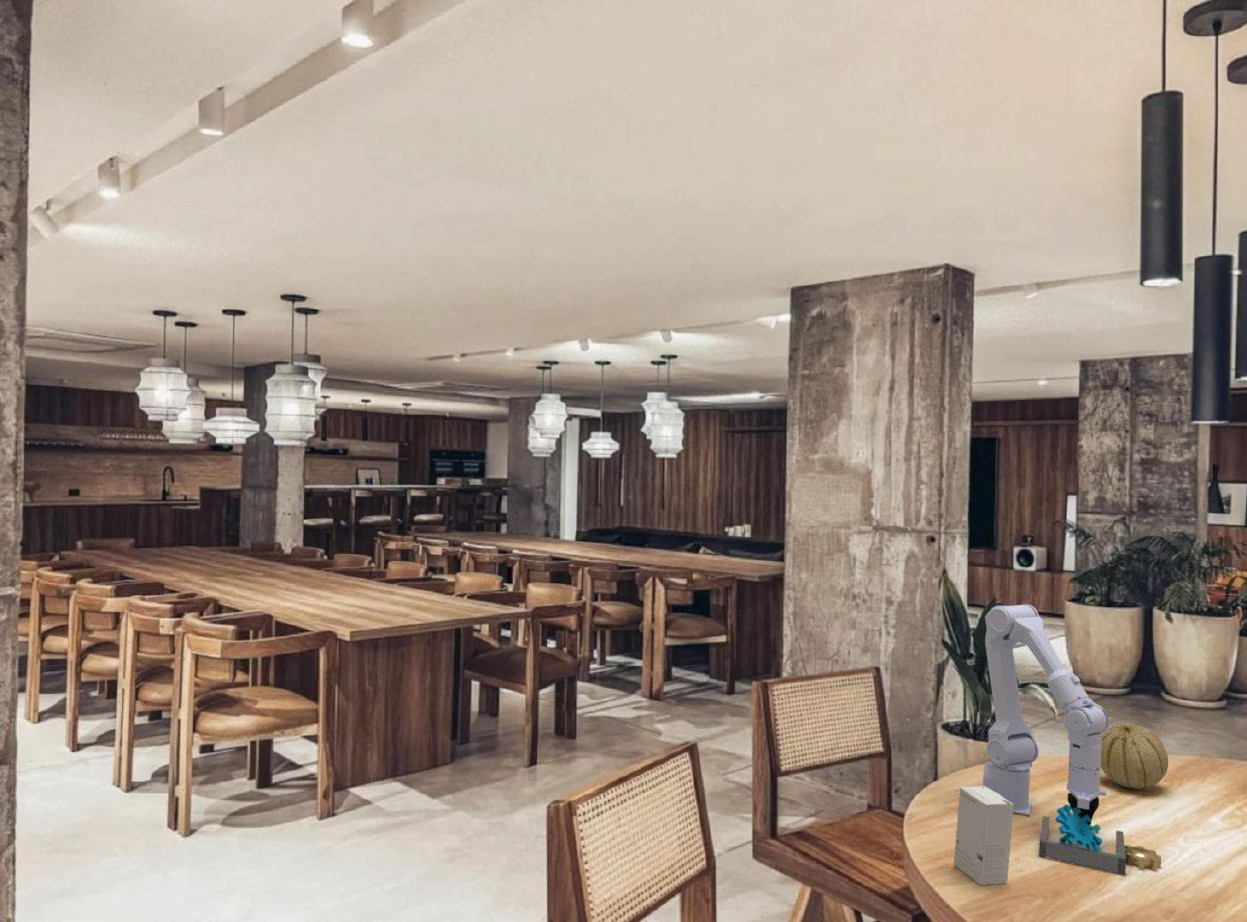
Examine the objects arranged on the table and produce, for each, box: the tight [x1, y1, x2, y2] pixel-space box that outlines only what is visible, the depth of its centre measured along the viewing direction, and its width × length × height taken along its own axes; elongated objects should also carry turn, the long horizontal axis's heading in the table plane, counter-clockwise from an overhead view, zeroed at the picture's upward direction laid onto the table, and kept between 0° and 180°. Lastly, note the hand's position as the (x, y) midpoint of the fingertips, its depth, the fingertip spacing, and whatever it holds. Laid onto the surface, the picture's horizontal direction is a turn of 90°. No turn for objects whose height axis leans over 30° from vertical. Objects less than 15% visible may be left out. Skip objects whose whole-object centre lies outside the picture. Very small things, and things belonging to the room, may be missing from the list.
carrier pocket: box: [1038, 815, 1162, 876], centre depth 172 cm, size 20×14×3 cm
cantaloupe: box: [1100, 723, 1169, 790], centre depth 211 cm, size 15×15×15 cm
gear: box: [1054, 804, 1103, 852], centre depth 175 cm, size 11×6×10 cm
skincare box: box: [953, 785, 1014, 886], centre depth 162 cm, size 8×6×15 cm
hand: (1081, 832), depth 180 cm, fingers closed
